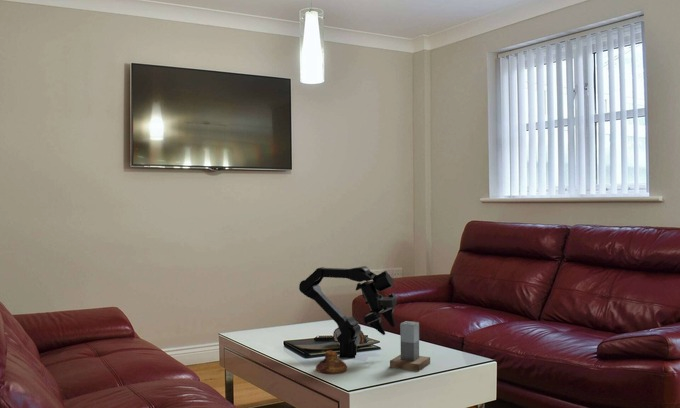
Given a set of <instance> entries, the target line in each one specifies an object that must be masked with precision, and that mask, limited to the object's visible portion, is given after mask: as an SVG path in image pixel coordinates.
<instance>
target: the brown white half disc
mask: <svg viewBox="0 0 680 408" xmlns="http://www.w3.org/2000/svg"><path fill="white" fill-rule="evenodd" d="M340 334H341V332H340V330H339V327H338V326H337V328H335V329H334V331H333V340H334V342H335V341H338V340H337V337H338V336H339V335H340ZM365 338H366V337H365V334H364V332H363V331H362V330H361V332H360V334H359V335H358V336H357V339H356V340H355V343H356V344H363V345H364V343H365V341H366V339H365Z"/></svg>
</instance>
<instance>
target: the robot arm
mask: <svg viewBox="0 0 680 408" xmlns="http://www.w3.org/2000/svg"><path fill="white" fill-rule="evenodd" d="M324 278H333V279H334V278H335V279H348V280H350V281H354V282H358V283H357V284H356V287H355V291H356V292H357V291H359V290H361V292H362V294H363V297H364V298H365V300H366V301H365V302H364V303H365V305H368V307H369V309H370V311H369V313H368V314H366V315H365V316H364V317H363V322H364V324H365V325H366V324H367V325H368V326H371V327H372V328H373V329H374V330H376V331H377V332H379V334H380V335H382V336H385V335H386V331H385V329H384V325H383V323H382V318H383V317H384V319H385V320H386V321H387V322H388V324H389V325H390V326H391V327H392V328H394V327H395V326H396V325H395V318H394V311H395V309H396V306H397V300H398V297H397V296H396V295H395V293H394V292H391V293H389V294H388V295H387V296H384V295H383V294H382V293H379V292H383V291H385V290H388V289H390V288H392V287H393V286H394V285H395V282H394V279H393V277H392V276H391V275H390V273H388V271H387V270H384V271H382V272H381V273H378V274H376V273H374V272H372V271H371V270H370V268H369V267H368V266H366V265H365V266H357V267H351V268H341V267H340V268H339V267H337V268H336V267H335V268H334V267H324V266H322V267H318V268H316V269H315V270H314V271H313V272H312V274H311V273H310V274H309V275H308V277H306V278H305V279H304V280H301V281H300V282H299V284H298V285H299V286H298V287H299V288H298V289H299V291H300V293H302V294H303V295H304V296H305V297H307V298H309V299H311V300H313V301H314V302H315V303H316V304H317V305H318V306H319V307H320V308H321V309H322V310H323V311H324V312H325V313H326V314H327V316H328V317H330V318H331V319H332V320H333V321H334V322H335V323H336V325H337V328H338V327H339V330H340V332H341V334H340V335H339V336H338V337H337V340H338V343H340V345H339V354H338V355H339V359H340V358H343V359H345V358H346V359H347V358H352V359H353V358H356V356H357V348H358V347H357V344H355V340H356V339H357V336H358V335H359V334H360V332H361V331H362V330H361V325H360V322H359V321H357V320H356V319H355V317H354V316H350V317H347V316H346V315H345V314H344V313H343V312H342V311H341V310H340V309H339V307H337V306H336V305H335V304H334V303H333V301H331V300H330V299H329V298H328V296H326V294H324V293H323V291H322V288H321V286H320V285H319V284H320V283H321V282H322V281H323V279H324ZM381 315H382V316H383V317H382V316H381Z"/></svg>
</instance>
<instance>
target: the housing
mask: <svg viewBox="0 0 680 408" xmlns="http://www.w3.org/2000/svg"><path fill="white" fill-rule="evenodd" d="M399 327H400V328H399V329H400V332H399V333H400V355H401V360H407V361H415V360H417V359H419V356H420V322H418V321H409V320H405V321H403V322H401V323H400V324H399Z"/></svg>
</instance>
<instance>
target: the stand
mask: <svg viewBox="0 0 680 408" xmlns="http://www.w3.org/2000/svg"><path fill="white" fill-rule="evenodd" d="M429 365H431V356H423V355H419V359H417V360H415V361H407V360H401V354H399V355H397V356H395V357H394V358H392V359H391V360H389V368H393V369H399V368H400V369H401V370H407V369H408V370H409V371H416V372H420V371H422V370H423V369H424V368H426V367H427V366H429Z"/></svg>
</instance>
